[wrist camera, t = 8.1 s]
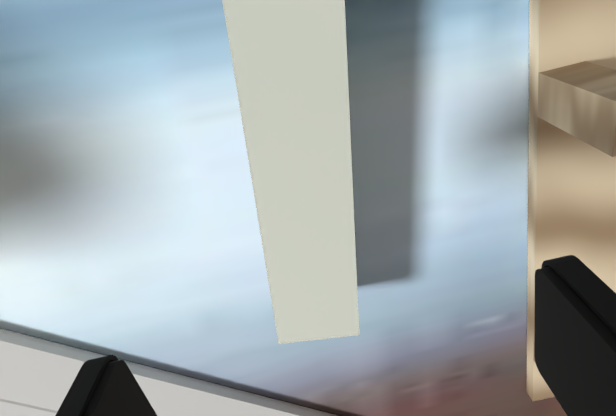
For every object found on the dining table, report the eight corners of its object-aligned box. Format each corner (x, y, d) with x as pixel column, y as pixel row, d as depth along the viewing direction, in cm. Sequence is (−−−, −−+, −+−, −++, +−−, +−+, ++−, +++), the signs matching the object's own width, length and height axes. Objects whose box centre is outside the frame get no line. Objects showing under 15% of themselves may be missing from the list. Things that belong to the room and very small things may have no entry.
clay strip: (211, -149, 16) (192, -185, 12) (323, -160, 16) (336, -198, 12) (278, 292, 25) (278, 343, 22) (348, 284, 25) (359, 335, 22)
